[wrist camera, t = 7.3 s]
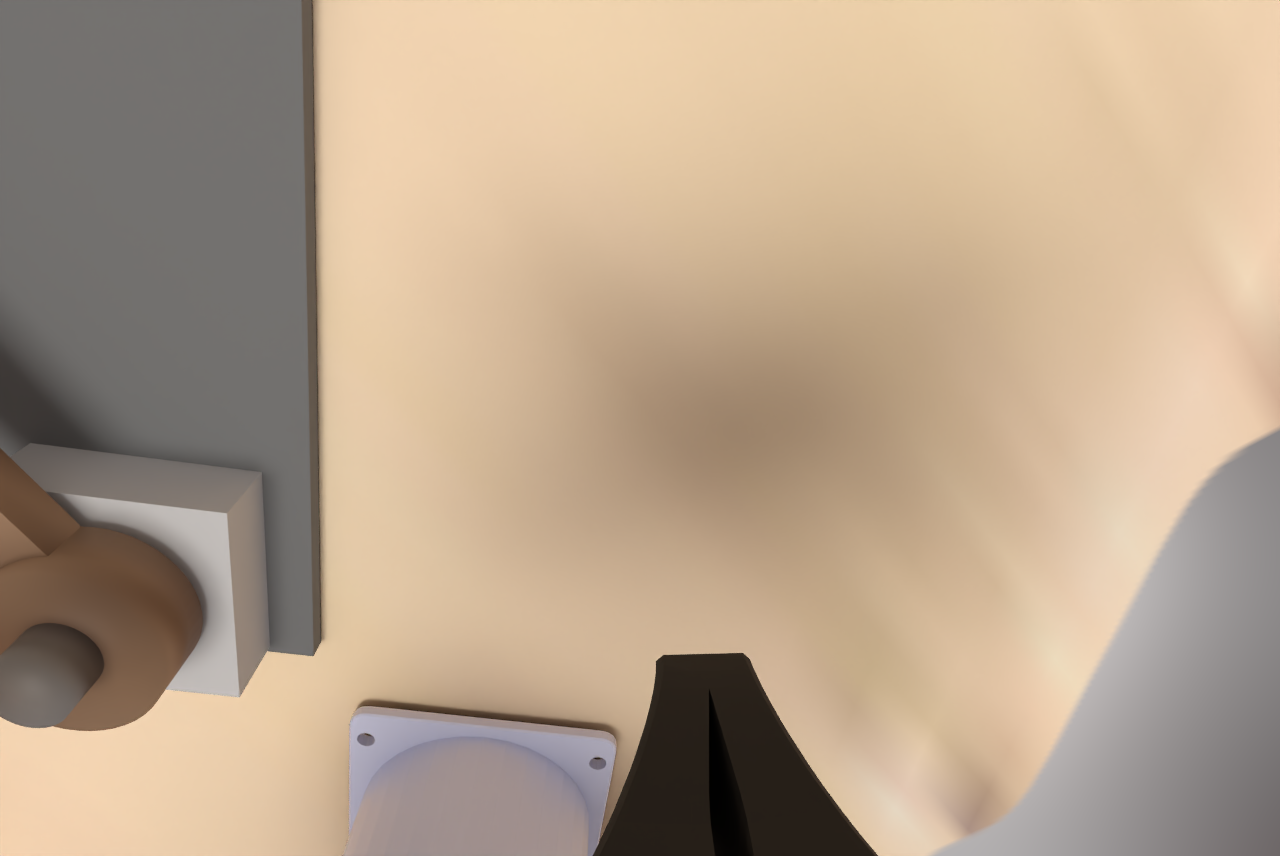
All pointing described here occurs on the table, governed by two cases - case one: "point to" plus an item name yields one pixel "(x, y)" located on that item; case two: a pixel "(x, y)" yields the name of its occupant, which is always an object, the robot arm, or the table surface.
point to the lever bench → (169, 297)
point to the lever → (84, 616)
